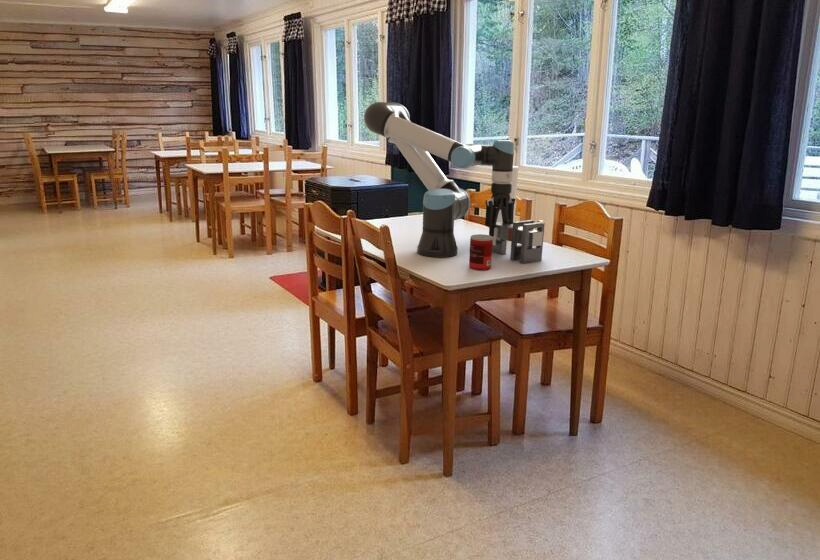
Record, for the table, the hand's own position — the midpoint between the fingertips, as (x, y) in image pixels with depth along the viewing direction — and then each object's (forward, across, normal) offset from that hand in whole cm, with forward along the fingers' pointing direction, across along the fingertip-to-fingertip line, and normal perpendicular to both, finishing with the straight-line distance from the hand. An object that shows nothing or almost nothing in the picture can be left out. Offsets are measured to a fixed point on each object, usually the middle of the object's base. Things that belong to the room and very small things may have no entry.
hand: (498, 243), depth 236 cm
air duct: (-3, 0, -8) cm, 9 cm away
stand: (+3, 0, +2) cm, 4 cm away
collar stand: (+3, +1, -15) cm, 15 cm away
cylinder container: (+4, +26, +24) cm, 35 cm away
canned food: (+4, -22, -14) cm, 27 cm away
